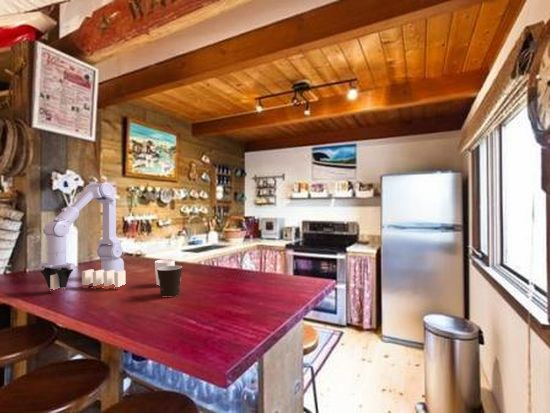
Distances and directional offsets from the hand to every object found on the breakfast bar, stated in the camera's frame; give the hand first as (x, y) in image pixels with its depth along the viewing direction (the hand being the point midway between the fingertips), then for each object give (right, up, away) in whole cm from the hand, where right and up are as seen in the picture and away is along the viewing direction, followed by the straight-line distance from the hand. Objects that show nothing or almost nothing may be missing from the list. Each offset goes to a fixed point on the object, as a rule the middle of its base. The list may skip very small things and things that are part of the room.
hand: (57, 287), depth 119 cm
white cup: (+39, -1, +8) cm, 40 cm away
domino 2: (+8, -2, +6) cm, 10 cm away
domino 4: (+18, -2, +4) cm, 18 cm away
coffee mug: (+46, -1, -6) cm, 47 cm away
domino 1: (0, -2, 0) cm, 2 cm away
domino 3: (+13, -2, +5) cm, 14 cm away
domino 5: (+23, -2, +3) cm, 23 cm away
